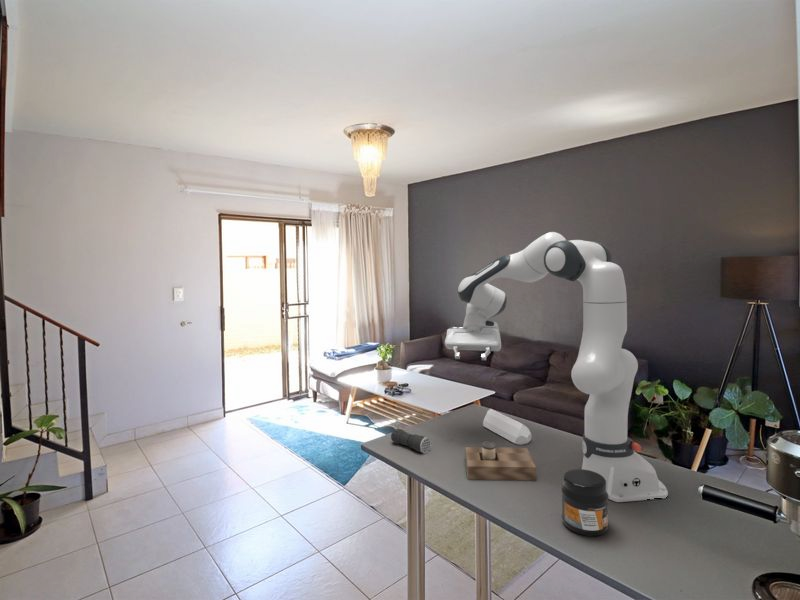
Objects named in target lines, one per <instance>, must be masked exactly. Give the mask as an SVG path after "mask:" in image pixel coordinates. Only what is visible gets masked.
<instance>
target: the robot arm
mask: <svg viewBox="0 0 800 600" xmlns="http://www.w3.org/2000/svg"><path fill="white" fill-rule="evenodd" d="M612 260H613V257H612V252H611V250H610V248H609V247H608V246H607V245H606V244H604V243H601V242H599V241H593V240H592V241H591V240H590V241H588V240H582V239H571V240H567V239H566V237H564V235H562V234H561V233H559V232H555V231H549V232H547V233H545V234H542V235H541V236H539V237H538V238H536V239H535V240H534V241H532V242H531V243H529V244H528V245H527V246H526V247H525V248H524V249H522V250H520V251H518V252H515V253H511V254H504V255H501V256H499V257H498V258H496V259H494V260H493V261H491V262H489V263H488V264H486V265H485V266H483V267H482V268H480V269H479V270H477V271H475V272H474V273H472V274H470V275H469V274H468V275H467V276H466V277H464V278H462V280H461V281H460V283H459V284H458V287H457V294H458V297H459V299H460V300H461V302H464V303H466V308H465V317H464V319H463V326H451V327H449V328H448V329H447V330H446V336H445V339H444V346H445V348H446V349H447V350H453V353H454V359H455V360H460V358H461V354H460V352H459V351H464V350H465V351H481V352H482V351H483V352H484V351H485V352H484V353H481V356H480V357H481V358H480V359H481V361H487V357H488V356H489V355H490V354H491V352H500V350H501V349H502V340H501V333H500V327H499V325H498V322H496V321H493V320H490V318H494V317H496V316H498V315H500V314H502V312H504V311H505V309H506V307H507V301H508V300H507V299H508V298H507V294H506V292H505V291H504V290H502V289H499V288H497V287H496V286H495V285H491V284H490V282H492V281H493V280H495V279H498V278H504V279H505V278H506V279H510V280H515V281H519V282H521V283H534V282H538V281H540V280H541V279H543V278H545V277H546V276H547V275H548V274H551V275H553V277H557V278H561V279H564V280H566V281H570V282H574V281H578V282H579V283H580V284H581V287H582V293H583V294H582V298H583V299H582V300H583V302H582V306H583V307H582V310H583V311H582V312H583V315H582V316H583V317H582V318H583V324H582V325H583V328H582V336H581V341H580V345H579V351H578V353H577V354H578V355H577V358H576V361H575V363H574V364H573V367H572V369H571V373H570V374H571V375H570V376H571V381H572V383H573V385H574V387H575V388H577V390H579V391H580V392H581V393H584V394H586V395H589V397H588V399H587V401H586V404H585V405H584V433H583V434H582V447H581V448H582V453H583V456H582V457H583V459H582V465H581V469H585V470H590V471H593V472H596V473H598V474H600V475H601V476H603V477H604V478H605V480H606V491H607V493H608V496H609V499H608V500H611V501H613V502H615V503H625V502H635V501H636V502H637V501H648V500H647V499H650V500H655V499H654V498H662V499H667V498H668V497H667V496H669V492H668V489H667V487H666V486H665V484H664V483H663V482H662V481H661V480H659V479H658V475H657V472H656V470H655V468H654V466H653V465H652V464H651V463H650V462H648V461H647V460H646V459H645V458H644V457H643V456H642V455H640V454H638V453H641V451H642V449H643V448H642V446H641V445H640V444H639V443H637V442H635V441H634V440H633V439H632V438H630V437H628V419H629V418H628V416H629V415H628V414H629V407H630V402H631V397H632V392H633V387H634V381H635V377H636V374H637V372H638V370H639V369H638V368H639V362H638V359H637V358H636V356H635V355H634V354H633V353H632V352H631V351H629V350H628V349H625V348H622V346H623V342H624V338H625V335H626V334H627V331H628V302H627V301H628V300H627V299H628V297H627V287H626V281H625V275H624V271H623V269H622V268H621V266H620V265H618V264H617V263H614V262H612ZM666 497H667V498H666Z"/></svg>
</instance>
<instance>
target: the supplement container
mask: <svg viewBox="0 0 800 600" xmlns="http://www.w3.org/2000/svg"><path fill="white" fill-rule="evenodd" d="M560 492H561V520H562V523H563V524H564V525H565V527H567V528H568V529H569V530H571V531H572V532H574V533H576V534H577V535H582V536H587V537H596V536H600V535H603V534H604V533H606V532H607V530H608V529H609V528H608V527H609V500H610V499H609V496H608V493H607V491H606V480H605V478H604V477H603V476H601V475H600V474H598V473H596V472H593V471H590V470H585V469H582V468H574V469H569V470H567V471H565V472H564V473H563V484H562V485H561V491H560Z"/></svg>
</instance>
